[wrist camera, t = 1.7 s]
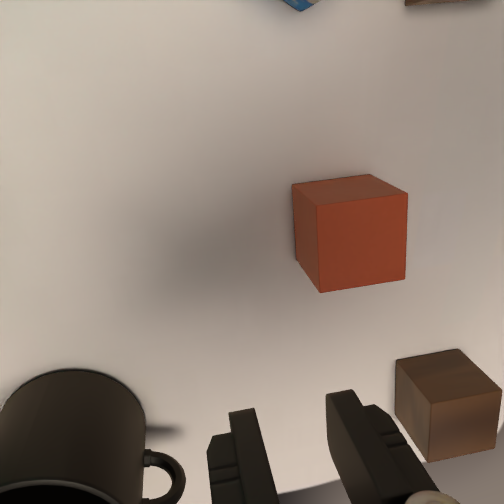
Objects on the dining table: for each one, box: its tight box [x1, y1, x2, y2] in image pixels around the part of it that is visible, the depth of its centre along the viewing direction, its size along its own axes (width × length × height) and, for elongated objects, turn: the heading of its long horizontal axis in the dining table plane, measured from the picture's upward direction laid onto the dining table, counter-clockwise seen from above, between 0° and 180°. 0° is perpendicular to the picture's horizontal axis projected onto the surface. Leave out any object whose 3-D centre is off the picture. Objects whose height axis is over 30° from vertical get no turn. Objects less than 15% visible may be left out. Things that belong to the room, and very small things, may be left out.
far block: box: [395, 349, 502, 463], centre depth 33 cm, size 5×5×5 cm
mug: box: [0, 371, 186, 504], centre depth 28 cm, size 9×12×9 cm
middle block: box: [292, 174, 408, 293], centre depth 27 cm, size 5×5×5 cm
